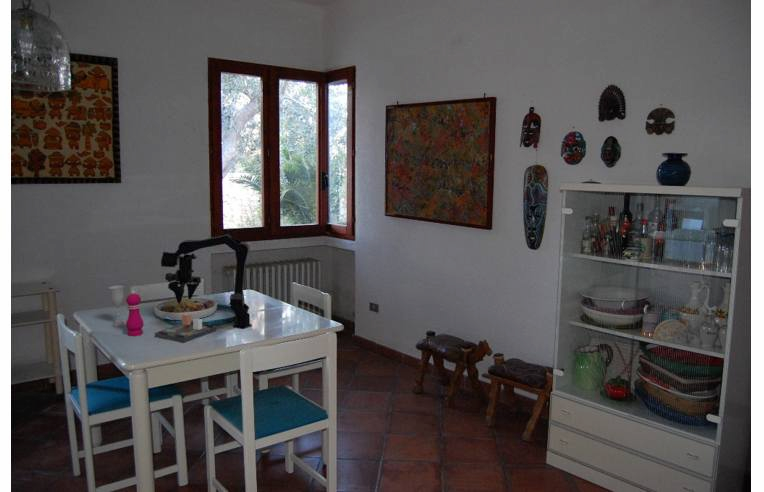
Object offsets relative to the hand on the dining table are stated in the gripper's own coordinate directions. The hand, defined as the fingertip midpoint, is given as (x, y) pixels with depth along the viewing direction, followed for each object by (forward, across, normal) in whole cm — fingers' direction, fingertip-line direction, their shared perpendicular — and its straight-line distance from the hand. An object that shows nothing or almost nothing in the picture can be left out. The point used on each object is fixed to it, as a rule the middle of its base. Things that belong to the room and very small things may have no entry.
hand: (184, 300), depth 270 cm
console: (+13, +8, +6) cm, 16 cm away
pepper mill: (+14, +14, -15) cm, 25 cm away
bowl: (+14, -22, -11) cm, 28 cm away
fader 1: (+10, +2, +3) cm, 11 cm away
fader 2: (+10, +8, +11) cm, 17 cm away
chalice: (+15, +3, -32) cm, 35 cm away
